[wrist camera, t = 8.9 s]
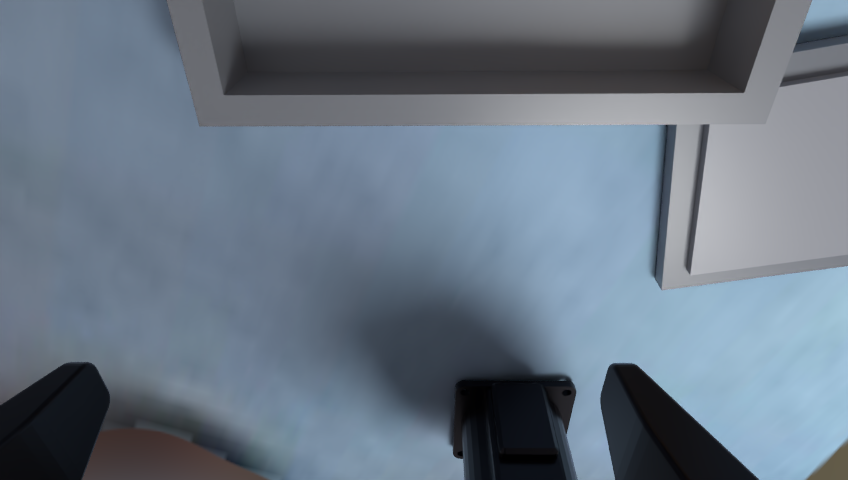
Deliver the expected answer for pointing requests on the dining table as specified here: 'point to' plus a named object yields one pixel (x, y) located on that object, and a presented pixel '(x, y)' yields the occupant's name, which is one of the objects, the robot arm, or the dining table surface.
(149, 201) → the dining table surface
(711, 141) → the lid
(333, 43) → the tray
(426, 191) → the dining table surface
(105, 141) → the dining table surface
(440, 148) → the dining table surface
